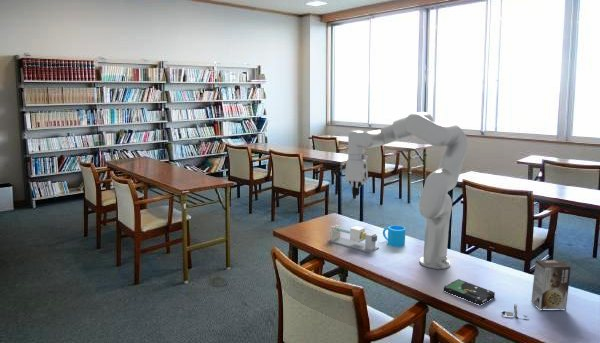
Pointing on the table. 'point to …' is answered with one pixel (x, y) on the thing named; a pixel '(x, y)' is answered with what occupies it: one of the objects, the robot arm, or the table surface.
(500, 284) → the table surface
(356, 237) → the sleeve
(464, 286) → the disk drive
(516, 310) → the strap clip
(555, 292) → the coffee box
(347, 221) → the table surface
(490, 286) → the table surface
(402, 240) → the mug
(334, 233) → the cord rig
